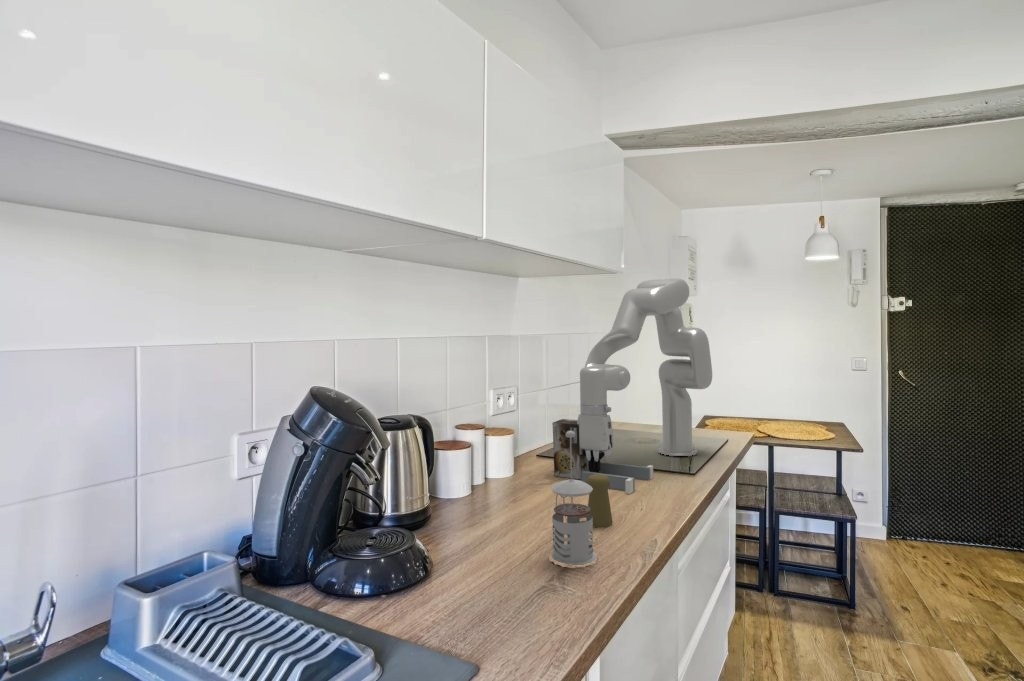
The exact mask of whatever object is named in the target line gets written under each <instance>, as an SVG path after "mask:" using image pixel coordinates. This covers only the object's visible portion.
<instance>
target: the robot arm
mask: <svg viewBox="0 0 1024 681" xmlns="http://www.w3.org/2000/svg"><path fill="white" fill-rule="evenodd" d="M689 297H690V286H689V284H688V283H687V282H686V281H685V280H684V279H682V278H665V279H663V278H661V279H649V280H644V281H642V282H640V283H638V285H637V286H636V288H633V289H630V290H628V291H626V292H625V293H624V295H623V297H622V299H621V302H620V305H619V308H618V311H617V313H616V317H615V318H614V321H613V324H612V327H611V329H610V330H609V332H608V333H607V334H606V335H604V336H603V337H602V338H601V339H600V340H599V341H598V342H597V343H596V344H595V345H594V347H592V349H591V350H590V351H589V354H588V357H587V360H586V362H585V365H584V367H582V368H581V369H580V370H579V397H580V398H579V400H580V405H579V406H580V407H579V408H580V409H579V411H580V413H579V414H578V416H577V419H576V420H577V424H579V436H580V448H581V449H583V454H584V455H585V456H586V458H587V460H588V461H589V471H590V472H595V473H600V462H601V460H602V459H603V458H604V457H607V456H611V455H612V454H613V452H614V451H613V448H614V446H615V445H614V444H615V442H614V430H613V424H612V423H613V422H612V419H611V415H610V414H608V413H611V412H612V407H610V406H608V404H607V403H608V401H607V398H608V397H607V395H608V394H607V392H609V391H612V392H613V391H614V392H619V391H622V390H624V389H626V388H628V386H629V385H630V382H631V374H630V373H631V372H629V370H628V368H626V367H625V366H622V365H619V364H609V363H608V364H606V362H607V361H608V359H609V358H610V357H612V355H614V354H615V353H617V352H619V351H621V350H623V349H624V348H628V347H630V346H632V345H634V344H635V343H636V342H637V341H639V339H640V336H641V334H642V333H641V332H642V329H643V327H644V324H645V321H646V318H647V317H648V316H651V317H653V316H654V318H655V323H656V331H657V337H658V344H659V348H660V351H661V353H662V355H664V356H669V357H682V358H681V359H680V358H670V359H666V360H665V361H663V362H661V364H660V365H659V367H658V378H659V383H660V388H661V390H660V391H661V397H662V398H661V399H662V400H661V401H662V403H661V405H662V406H661V408H662V409H661V411H662V413H661V414H662V446H661V447H658V449H657V450H658V454H660V453H661V454H660V455H662V454H664V455H663V456H666V455H669V456H668V457H673V456H688V457H693V456H696V455H697V454H698V450H697V448H695V447H693V416H692V415H693V414H692V413H693V412H692V411H693V409H692V408H693V405H692V404H693V403H692V399H691V395H690V393H689V391H687V389H691V390H705V389H707V388H709V387H710V385H711V384H712V382H713V367H712V359H711V358H712V357H711V349H710V348H711V347H710V342H709V338H708V335H707V334H706V332H705V331H704V330H703V329H702V328H700V327H686V326H685V325H684V320H683V319H684V318H683V314H682V310H681V308H680V307H681V306H683V305H685V303H686V302H687V301H688V300H689ZM683 357H684V358H685V357H686V358H689V359H684V358H683ZM692 455H693V456H692Z"/></svg>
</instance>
